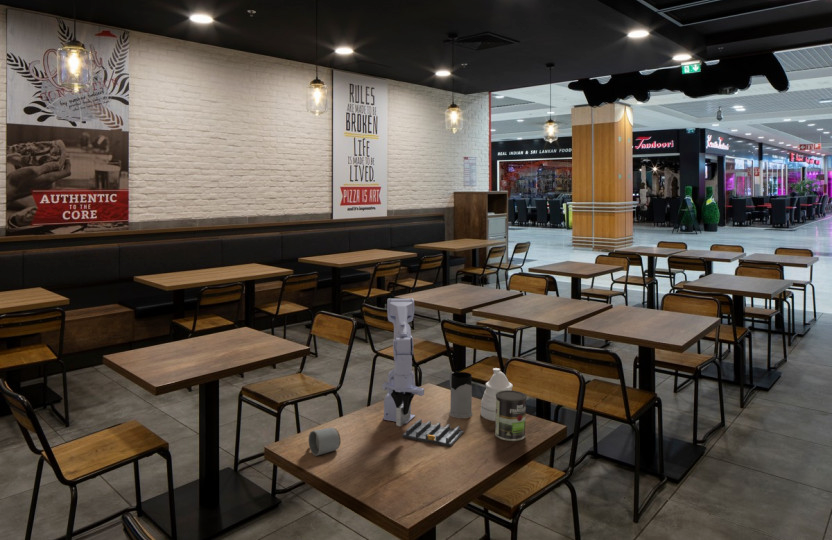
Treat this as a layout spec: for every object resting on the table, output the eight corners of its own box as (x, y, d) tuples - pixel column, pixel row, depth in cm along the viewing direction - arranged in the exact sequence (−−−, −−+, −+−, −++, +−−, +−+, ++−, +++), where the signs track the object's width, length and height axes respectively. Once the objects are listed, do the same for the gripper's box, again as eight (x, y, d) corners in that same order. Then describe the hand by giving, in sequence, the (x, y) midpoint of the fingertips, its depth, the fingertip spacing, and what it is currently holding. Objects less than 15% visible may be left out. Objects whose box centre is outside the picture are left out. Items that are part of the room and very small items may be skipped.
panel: (396, 425, 188) (396, 407, 187) (405, 418, 194) (405, 401, 194) (400, 426, 187) (400, 408, 187) (410, 419, 194) (410, 401, 193)
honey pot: (503, 424, 205) (505, 375, 203) (474, 415, 214) (474, 368, 211) (522, 414, 215) (523, 367, 213) (493, 405, 223) (494, 360, 221)
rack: (402, 437, 194) (402, 430, 193) (417, 424, 205) (417, 417, 204) (450, 446, 187) (450, 439, 186) (463, 433, 197) (463, 426, 197)
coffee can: (531, 437, 194) (533, 397, 192) (506, 443, 189) (507, 402, 187) (513, 426, 203) (514, 388, 201) (488, 432, 198) (489, 392, 196)
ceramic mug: (342, 452, 182) (342, 428, 181) (319, 459, 177) (319, 435, 176) (325, 441, 191) (325, 419, 190) (303, 448, 186) (302, 425, 185)
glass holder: (455, 419, 209) (455, 379, 207) (439, 406, 222) (440, 368, 221) (476, 416, 213) (477, 377, 211) (460, 403, 226) (460, 366, 224)
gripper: (377, 373, 188) (377, 413, 190) (417, 380, 182) (417, 421, 184) (387, 367, 194) (388, 406, 196) (427, 373, 188) (426, 413, 190)
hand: (402, 413), depth 190 cm, fingers closed on panel, 2 cm apart
